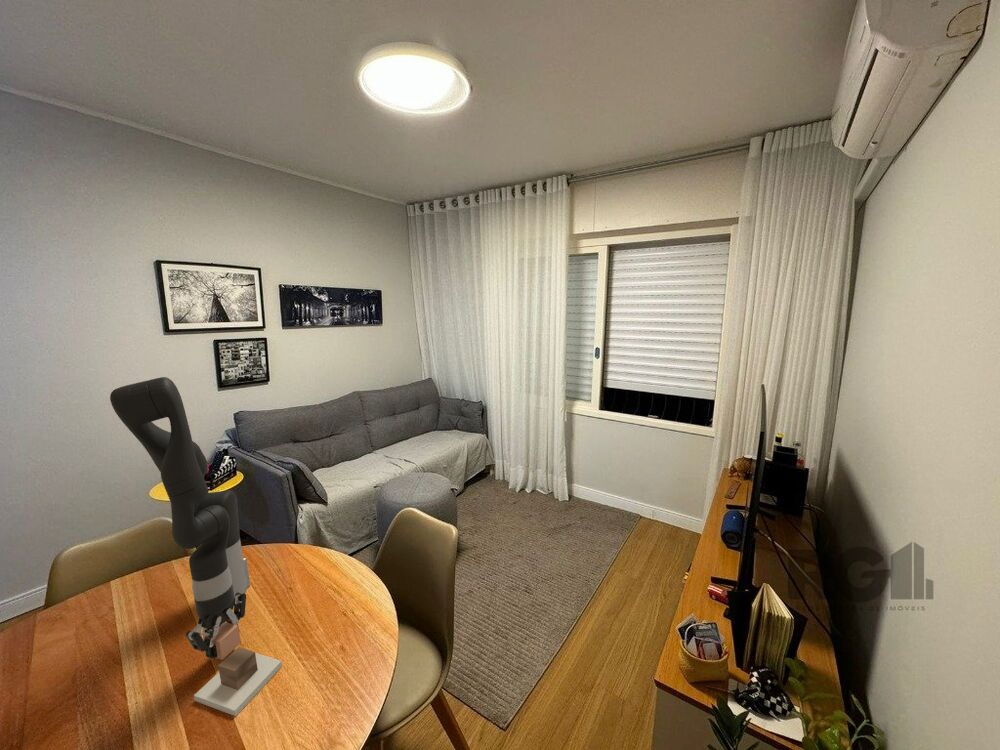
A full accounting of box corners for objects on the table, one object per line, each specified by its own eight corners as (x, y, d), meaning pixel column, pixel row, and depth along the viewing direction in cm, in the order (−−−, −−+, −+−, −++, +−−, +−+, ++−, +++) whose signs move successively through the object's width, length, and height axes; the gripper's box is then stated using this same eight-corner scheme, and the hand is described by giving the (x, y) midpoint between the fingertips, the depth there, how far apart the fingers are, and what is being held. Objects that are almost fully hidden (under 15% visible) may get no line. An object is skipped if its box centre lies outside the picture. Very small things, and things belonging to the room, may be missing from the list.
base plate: (244, 654, 96) (243, 649, 96) (282, 666, 92) (281, 660, 92) (194, 700, 85) (193, 695, 84) (235, 716, 81) (234, 710, 81)
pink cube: (225, 638, 99) (223, 621, 98) (241, 642, 97) (238, 625, 96) (206, 655, 94) (203, 637, 93) (222, 659, 93) (219, 642, 92)
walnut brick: (241, 664, 91) (238, 646, 91) (257, 670, 90) (255, 651, 89) (221, 684, 87) (218, 665, 86) (237, 690, 85) (234, 671, 84)
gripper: (229, 565, 100) (238, 621, 103) (169, 607, 87) (182, 669, 90) (251, 570, 98) (260, 627, 101) (194, 613, 85) (206, 677, 88)
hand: (223, 647), depth 95 cm, fingers closed on pink cube, 5 cm apart
